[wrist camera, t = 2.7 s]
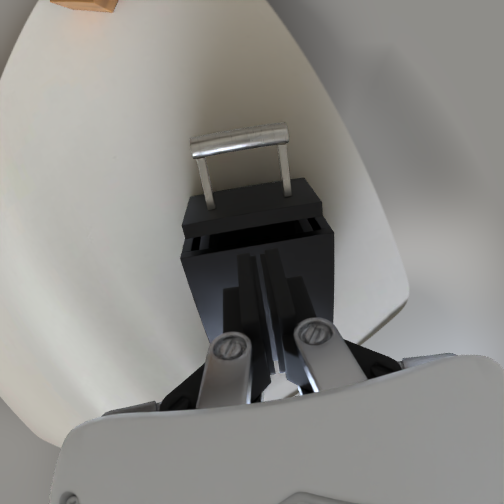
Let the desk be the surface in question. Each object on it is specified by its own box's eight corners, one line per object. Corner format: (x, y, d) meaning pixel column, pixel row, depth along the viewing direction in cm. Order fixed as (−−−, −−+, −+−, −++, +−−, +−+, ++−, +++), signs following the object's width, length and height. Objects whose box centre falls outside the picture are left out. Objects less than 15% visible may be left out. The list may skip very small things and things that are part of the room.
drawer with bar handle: (175, 135, 24) (161, 149, 19) (297, 114, 24) (316, 123, 19) (218, 302, 34) (217, 340, 29) (311, 286, 33) (324, 322, 28)
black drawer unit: (190, 215, 29) (179, 258, 22) (309, 195, 29) (334, 232, 22) (219, 318, 36) (219, 368, 30) (315, 302, 36) (331, 349, 29)
